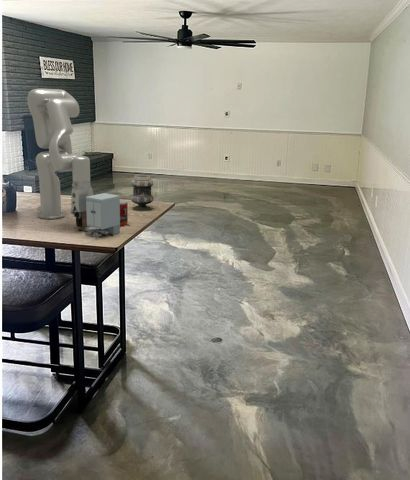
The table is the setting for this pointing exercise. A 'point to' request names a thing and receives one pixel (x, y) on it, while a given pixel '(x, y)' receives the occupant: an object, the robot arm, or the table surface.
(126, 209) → the canned food
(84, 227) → the brown wooden block
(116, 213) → the cabinet
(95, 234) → the disc
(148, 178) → the apothecary jar
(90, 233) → the disc
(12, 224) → the table surface
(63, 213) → the robot arm
